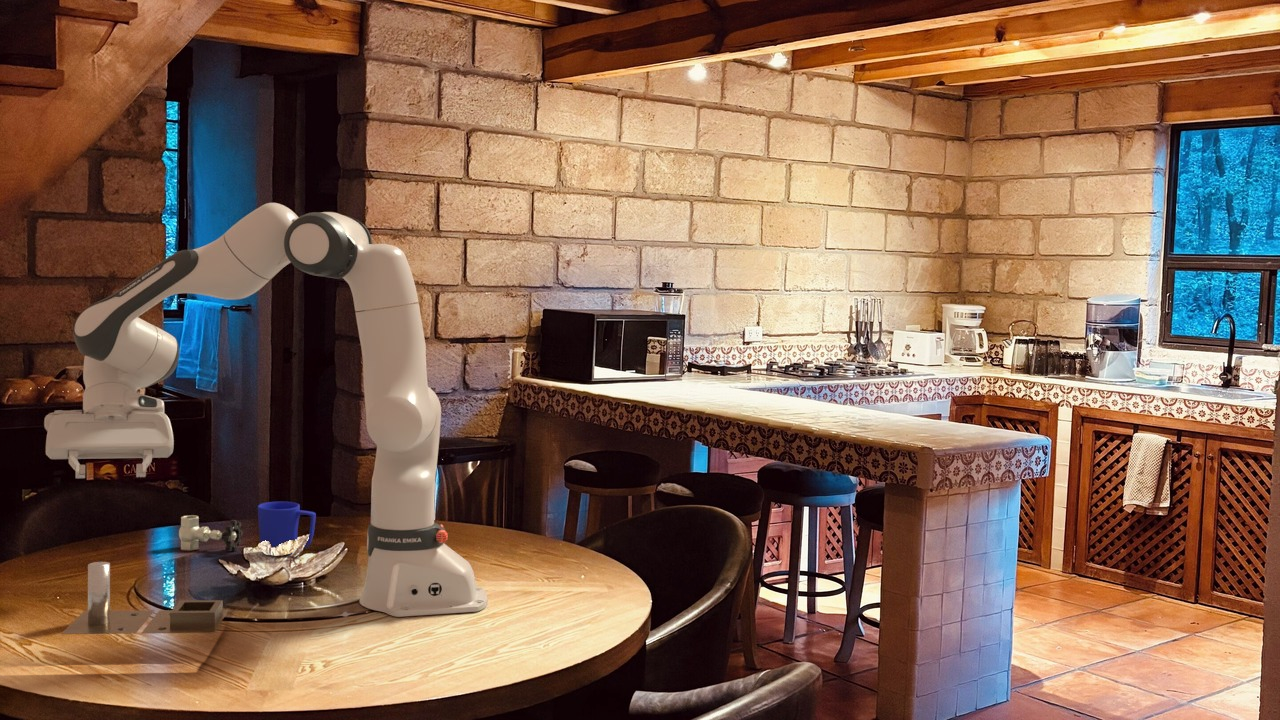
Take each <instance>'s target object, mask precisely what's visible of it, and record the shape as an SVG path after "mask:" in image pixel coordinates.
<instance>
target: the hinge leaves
mask: <svg viewBox="0 0 1280 720" xmlns="http://www.w3.org/2000/svg"><path fill="white" fill-rule="evenodd" d="M223 603H224V602H223V600H222V599H219V600H218V599H216V600H213V599H211V600H210V599H209V600H208V599H207V600H206V599H205V600H202V599H201V600H199V599H198V600H191V599H190V600H178V602H177V603H176V605H175V606H174V607H173V608H172V609H170V610H169V609H168V610H167V609H166V610H164V609H163V610H161V609H160V610H158V612H157V613H156V614H155V615H154V617H153V618H152V620H150V621H149V623H148V624H147V625H146V627H144V629H143V630H142V631H141V634H187V633H188V634H205V633H208V634H209V633H211V634H212V633H216V632H217V629H218V628H219V627H220V625H221V623H222V622H223V620H224V618H225V617H226V615H227V614H228V612H229V609H224V608H223V607H224V606H223ZM154 612H155V610H153V609H152V610H145V609H144V610H143V609H142V610H110V622H108V623H106V624H101V625H91V624H88V610H84V611H82V613H80V614H79V615H78V616H77V618H75V620H73V622H71V623H70V625H68V626H67V627H66V628H65V629H64V630H63V631H62V632H61V633H60V635H95V634H96V635H104V634H105V635H107V634H108V635H110V634H111V635H112V634H114V635H115V634H120V635H121V634H124V635H125V634H137V633H138V632H139V630H140V629H141V628H142V626H144V624H145V623H146V622H147V621H148V619H149V618H150V617H151V616H152V615H153V614H154Z"/></svg>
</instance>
